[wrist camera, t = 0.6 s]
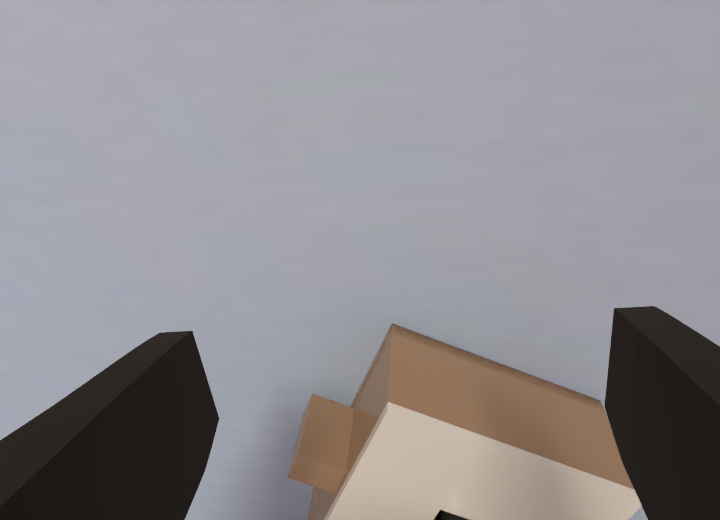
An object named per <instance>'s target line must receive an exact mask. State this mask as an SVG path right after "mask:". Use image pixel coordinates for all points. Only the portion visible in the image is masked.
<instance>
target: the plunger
mask: <svg viewBox="0 0 720 520" xmlns="http://www.w3.org/2000/svg"><path fill="white" fill-rule="evenodd" d="M436 520H469V519H466V518H463V517H460V516H457V515H454V514H451V513H448V512H445V511H442V510H440V511H439V512H438V514H437V515H436Z"/></svg>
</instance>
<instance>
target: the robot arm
mask: <svg viewBox="0 0 720 520" xmlns="http://www.w3.org/2000/svg"><path fill="white" fill-rule="evenodd" d="M605 409H606V412H607V416H608V419H609V422H610V426H611V429H612V432H613V436H614V439H615V442H616V445H617V448H618V451H619V454H620V457H621V460H622V463H623V465H624V467H625V470H626V472H627V474H628V476H629V479H630V481H631V483H632V485H633V487H634V490H635V492H636V494H637V496H638V498H639V501H640V503H641V505H642V507H643V509H644V511H645V514H646V516H647V518H648V520H720V347H719V346H718V345H716V344H715V343H713V342H712V341H710V340H708V339H707V338H705V337H704V336H702V335H701V334H699V333H697V332H696V331H694V330H693V329H691V328H690V327H688V326H686V325H685V324H683V323H682V322H680V321H679V320H677V319H675V318H674V317H672V316H670V315H669V314H667V313H665V312H664V311H662V310H660V309H658V308H657V307H655V306H650V307H631V308H614V316H613V326H612V336H611V347H610V357H609V367H608V378H607V388H606V398H605ZM218 421H219V417H218V413H217V410H216V407H215V404H214V400H213V397H212V394H211V391H210V387H209V384H208V381H207V378H206V374H205V371H204V368H203V365H202V361H201V358H200V355H199V351H198V348H197V345H196V342H195V338H194V335H193V332H192V331H184V332H165V333H159V334H157V335H156V336H154V337H152V338H150V339H149V340H147V341H146V342H144V343H142V344H141V345H139V346H138V347H136V348H135V349H133V350H132V351H130V352H129V353H128V354H126V355H125V356H123V357H122V358H120V359H119V360H117V361H116V362H115V363H113V364H112V365H110V366H109V367H108V368H106V369H105V370H103V371H102V372H100V373H99V374H98V375H96V376H95V377H93V378H92V379H91V380H89V381H88V382H86V383H85V384H83V385H82V386H81V387H79V388H78V389H76V390H75V391H73V392H72V393H71V394H69V395H68V396H66V397H65V398H64V399H62V400H61V401H59V402H58V403H56V404H55V405H53V406H52V407H50V408H49V409H47V410H46V411H44V412H43V413H41V414H40V415H38V416H37V417H35V418H34V419H32V420H31V421H29V422H28V423H26V424H25V425H23V426H22V427H20V428H19V429H17V430H16V431H14V432H12V433H11V434H9V435H8V436H6V437H5V438H3V439H2V440H0V520H184V519H185V517H186V515H187V512H188V510H189V508H190V505H191V503H192V501H193V498H194V496H195V493H196V491H197V489H198V486H199V484H200V481H201V479H202V476H203V474H204V471H205V468H206V465H207V461H208V458H209V455H210V451H211V448H212V444H213V440H214V436H215V432H216V428H217V424H218Z"/></svg>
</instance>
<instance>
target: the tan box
mask: <svg viewBox="0 0 720 520" xmlns="http://www.w3.org/2000/svg"><path fill="white" fill-rule="evenodd" d="M288 478H291V479H294V480H297V481H300V482H303V483H306V484H309V485H312V486H314V490H313V495H312V501H311V506H310V511H309V516H308V520H436V515H437V514H438V512H439V511H440V510H442V511H445V512H448V513H451V514H454V515H457V516H460V517H463V518H466V519H469V520H628V519H629V518H630V517H631V516H632V515H633V514H634V513H635V512H636V511H637V510H638V509H639V508H640V507H641V506H642V505H641V503H640V501H639V498H638V496H637V494H636V492H635V490H634V487H633V485H632V483H631V481H630V479H629V476H628V474H627V472H626V470H625V467H624V465H623V463H622V460H621V457H620V454H619V451H618V448H617V445H616V442H615V439H614V436H613V432H612V429H611V426H610V422H609V420H608V417H607V415H606V413H605V411H604V408H603V406H602V404H601V401H599V400H596V399H594V398H591V397H588V396H586V395H583V394H580V393H578V392H575V391H572V390H569V389H567V388H564V387H561V386H559V385H556V384H553V383H551V382H548V381H545V380H543V379H540V378H537V377H534V376H532V375H529V374H526V373H524V372H521V371H518V370H516V369H513V368H510V367H508V366H505V365H502V364H499V363H497V362H494V361H491V360H489V359H486V358H483V357H481V356H478V355H475V354H473V353H470V352H467V351H464V350H462V349H459V348H456V347H454V346H451V345H448V344H446V343H443V342H440V341H437V340H435V339H432V338H429V337H427V336H424V335H421V334H419V333H416V332H413V331H411V330H408V329H405V328H402V327H400V326H397V325H394V324H392V325H391V327H390V329H389V331H388V333H387V335H386V337H385V339H384V341H383V343H382V345H381V347H380V349H379V351H378V353H377V355H376V357H375V359H374V361H373V363H372V365H371V367H370V369H369V371H368V373H367V375H366V377H365V379H364V381H363V383H362V385H361V387H360V389H359V391H358V393H357V395H356V397H355V399H354V401H353V403H352V404H351V406H350V407H348V406H345V405H343V404H340V403H337V402H334V401H331V400H328V399H326V398H323V397H320V396H317V395H314V394H312V396H311V398H310V400H309V403H308V405H307V407H306V409H305V412H304V414H303V417H302V421H301V425H300V429H299V433H298V437H297V442H296V446H295V450H294V454H293V458H292V462H291V466H290V470H289V474H288Z"/></svg>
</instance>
